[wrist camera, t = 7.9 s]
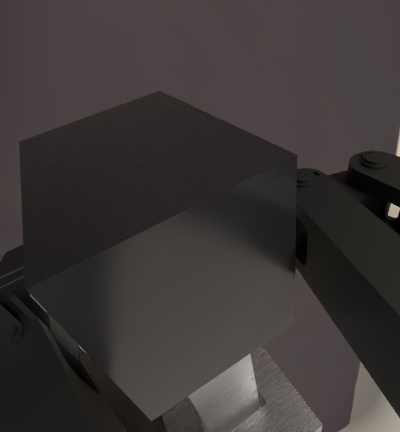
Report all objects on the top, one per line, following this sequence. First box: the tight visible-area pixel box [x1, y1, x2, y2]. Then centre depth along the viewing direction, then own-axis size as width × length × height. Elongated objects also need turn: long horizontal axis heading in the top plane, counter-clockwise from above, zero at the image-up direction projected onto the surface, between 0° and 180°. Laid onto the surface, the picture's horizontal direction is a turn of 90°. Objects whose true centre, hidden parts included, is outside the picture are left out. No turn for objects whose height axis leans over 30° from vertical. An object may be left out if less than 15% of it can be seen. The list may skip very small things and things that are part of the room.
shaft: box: [19, 91, 297, 432], centre depth 17 cm, size 5×30×7 cm, turn 13°
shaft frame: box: [161, 346, 322, 432], centre depth 23 cm, size 10×36×14 cm, turn 13°
